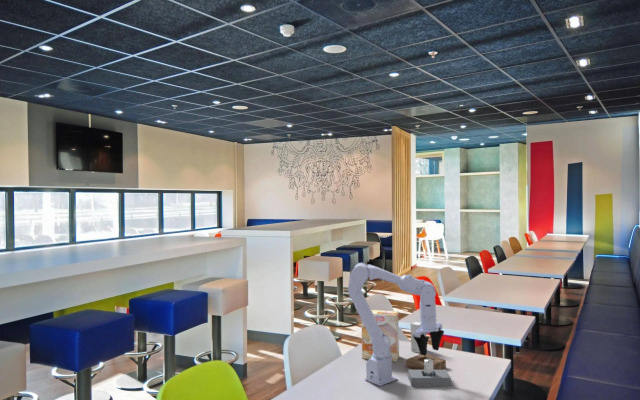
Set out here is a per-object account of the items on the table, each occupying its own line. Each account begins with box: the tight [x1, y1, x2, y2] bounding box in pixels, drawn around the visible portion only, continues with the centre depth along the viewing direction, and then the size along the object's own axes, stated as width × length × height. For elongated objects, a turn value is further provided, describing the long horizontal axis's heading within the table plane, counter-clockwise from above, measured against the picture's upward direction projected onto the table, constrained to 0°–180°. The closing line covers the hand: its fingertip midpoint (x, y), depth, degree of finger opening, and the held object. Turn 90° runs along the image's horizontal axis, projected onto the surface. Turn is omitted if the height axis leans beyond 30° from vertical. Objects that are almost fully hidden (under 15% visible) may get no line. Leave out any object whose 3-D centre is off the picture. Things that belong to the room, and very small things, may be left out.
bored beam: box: [407, 369, 452, 387], centre depth 171 cm, size 14×8×3 cm, turn 87°
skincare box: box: [410, 321, 427, 354], centre depth 206 cm, size 6×4×12 cm
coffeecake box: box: [361, 309, 400, 362], centre depth 198 cm, size 15×7×20 cm, turn 73°
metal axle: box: [424, 359, 433, 376], centre depth 171 cm, size 3×3×8 cm
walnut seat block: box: [405, 353, 447, 370], centre depth 185 cm, size 11×11×3 cm
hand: (429, 352), depth 171 cm, fingers open, 7 cm apart
